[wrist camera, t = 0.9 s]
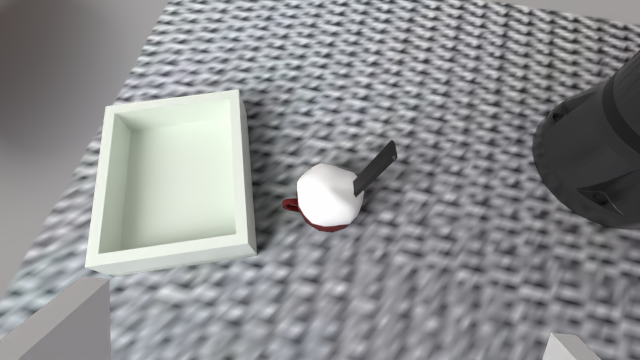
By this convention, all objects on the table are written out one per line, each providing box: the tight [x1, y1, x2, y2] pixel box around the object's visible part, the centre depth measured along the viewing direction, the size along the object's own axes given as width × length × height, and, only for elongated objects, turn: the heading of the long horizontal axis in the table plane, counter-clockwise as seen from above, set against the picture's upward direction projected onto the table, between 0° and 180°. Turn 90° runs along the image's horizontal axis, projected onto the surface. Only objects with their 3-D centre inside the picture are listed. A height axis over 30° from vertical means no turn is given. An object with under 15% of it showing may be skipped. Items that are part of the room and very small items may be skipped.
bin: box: [85, 90, 257, 277], centre depth 37 cm, size 14×17×4 cm
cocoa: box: [282, 140, 397, 232], centre depth 32 cm, size 10×6×12 cm, turn 72°
